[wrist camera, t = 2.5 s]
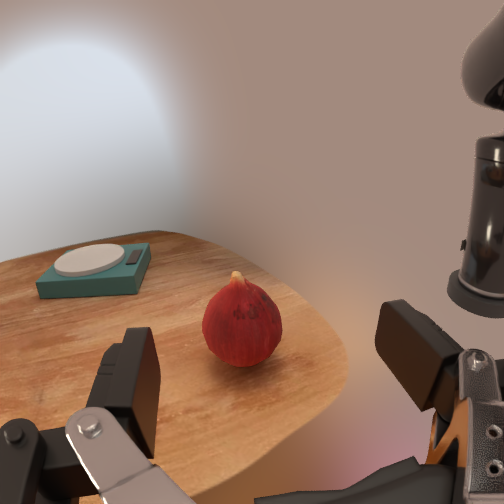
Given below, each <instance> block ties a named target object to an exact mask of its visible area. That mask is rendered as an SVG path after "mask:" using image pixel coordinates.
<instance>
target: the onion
mask: <svg viewBox="0 0 504 504" xmlns="http://www.w3.org/2000/svg"><path fill="white" fill-rule="evenodd" d="M202 332H203V334H204V337H205V340H206V342H207V345H208V347H209V349H210V350H211V351H212V352H213V353H214V354H215V355H216V356H217V357H218V358H220V359H221V360H222V361H224V362H226V363H228V364H231V365H233V366H237V367H247V366H252V365H256V364H258V363H259V362H261V361H263V360H265V359H266V358H268V357H270V355H271V354H272V352H273V351H274V350H275V348H276V347H277V345H278V344H279V342H280V340H281V335H282V322H281V316H280V312H279V310H278V308H277V306H276V304H275V303H274V302H273V301H272V299H271V298H270V297H269V296H268V295H267V293H266V292H265V291H264V290H263V289H261V288H260V287H258V286H256V285H254V284H252V283H250V282H249V281H247V280H246V279H245V278H244V277H243V276H242V274H241V273H240V272H237V271H233V272H232V278H231V279H230V284H229V285H227V286H225V287H224V288H222V289H221V290H220V291H219V292H218V293H217V294H216V295H215V296H214V297H213V298H212V299H211V300H210V302H209V304H208V305H207V308H206V311H205V314H204V318H203V321H202Z"/></svg>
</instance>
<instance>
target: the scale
mask: <svg viewBox="0 0 504 504" xmlns="http://www.w3.org/2000/svg"><path fill="white" fill-rule="evenodd" d="M150 259H151V253H150V246H149V243H141V244H130V245H114V244H98V245H91V246H86V247H82V248H79V249H75V250H67V251H66V252H65V253H64V254H63V255H62V256H61V257H60V258H58V259H57V260H56V262H55V263H54V264H53V265H52V266H51V267H50V268H49V269H48V270H47V271H46V272H45V273H44V274H43V275H42V276H41V277H40V278H39V279H38V280H37V281H36V286H37V289H38V293H39V296H40V299H44V298H68V297H89V296H108V295H125V294H137V293H138V290H139V288H140V285H141V282H142V280H143V277H144V274H145V272H146V269H147V267H148V264H149V261H150Z"/></svg>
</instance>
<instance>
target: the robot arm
mask: <svg viewBox="0 0 504 504" xmlns="http://www.w3.org/2000/svg"><path fill="white" fill-rule="evenodd" d="M460 74H461V83H462V86H463V89H464V91H465V93H466V95H467V96H468V98H469V99H470V100H471V101H473V102H474V103H475V104H477V105H479V106H481V107H484V108H487V109H492V110H496V111H500V112H504V3H503V5H502V6H501V8H500V9H499V11H498V12H497V13H496V15H495V16H494V17H493V19H492V20H491V21H490V22H489V23H488V24H487V25H486V26H485V27H484V28H483V29H482V30H481V32H479V33H478V35H476V37H475V38H474V39H473V40H472V41H471V42H470V44H469V45H468V47H467V48H466V50H465V53H464V56H463V59H462V63H461V72H460ZM475 157H476V158H475V161H474V178H473V190H472V199H471V208H470V216H469V223H468V230H467V236H466V239H465V240H464V241H462V245H461V250H463V249H464V253H463V258H462V263H461V268H460V271H459V274H458V282H459V283H460V285H461V286H462V287H463V288H465V289H466V290H468V291H469V292H471V293H473V294H475V295H477V296H480V297H483V298H487V299H492V300H504V129H503V130H501V131H499V132H497V133H494V134H489V135H484V136H480V137H478V138H477V139H476V143H475ZM375 346H376V350H377V353H378V354H379V356H380V357H381V358H382V360H383V361H384V362H385V363H386V365H387V366H388V368H389V369H390V370H391V371H392V373H393V374H394V375H395V377H396V378H397V380H398V381H399V382H400V384H401V385H402V386H403V388H404V389H405V390H406V392H407V393H408V394H409V396H410V397H411V398H412V400H413V401H414V402H415V404H416V405H417V407H418V408H419V409H420V411H421V412H423V411H425V410H428V409H430V408H433V407H434V408H435V409H436V411H435V413H434V415H433V421H432V430H431V437H430V444H429V450H428V456H427V460H426V463H425V464H421V465H419V463H418V462H417V460H416V458H415V457H414V456H412V457H410V458H408V459H405V460H402V461H399V462H397V463H394V464H392V465H389V466H386V467H383V468H380V469H379V470H377V471H376V472H374V473H372V474H371V475H369V476H367V477H366V478H364V479H363V480H361V481H359V482H357V483H356V484H354V485H352V486H350V487H349V488H346V489H343V490H327V491H296V492H290V493H285V494H280V495H273V496H267V497H260V498H254V504H504V359H500V360H494V359H493V357H491V355H489V354H488V353H486V352H484V351H482V350H478V349H467V350H464V349H463V348H462V347H461V346H460V345H459V344H458V343H457V342H455V341H454V340H453V339H452V338H451V337H450V336H449V335H448V334H447V333H446V332H445V331H442V329H441V328H440V327H439V326H438V325H436V324H435V322H434V321H433V320H432V319H430V318H429V317H428V316H427V315H425V314H423V313H421V312H419V311H417V310H415V309H414V308H413V307H411V306H410V305H409V304H408V303H407V302H406V301H405V300H402V299H400V300H394V301H388V302H384V303H383V304H382V306H381V309H380V315H379V321H378V326H377V330H376V335H375ZM100 365H101V366H99V369H98V372H97V375H96V377H95V380H94V383H93V386H92V389H91V392H90V395H89V398H88V401H87V404H86V407H85V408H83V409H81V410H79V411H77V412H75V413H74V414H73V415H72V416H71V417H70V418H69V419H68V421H67V423H66V426H65V427H61V428H55V429H49V430H42V431H39V430H38V429H37V427H36V426H35V424H34V423H33V422H31V421H30V420H27V419H23V418H18V419H13V420H11V421H9V422H7V423H5V424H4V425H3V426H2V427H1V428H0V504H79V497H83V496H90V495H96V494H99V496H100V498H101V499H102V501H103V503H104V504H196V503H195V502H194V501H193V500H192V499H191V498H190V497H189V496H188V495H187V494H186V493H185V492H184V491H183V490H182V489H181V488H180V487H179V486H178V485H177V484H176V483H175V482H174V481H173V480H172V479H171V478H170V477H169V476H168V475H167V474H166V473H165V472H164V471H163V470H162V469H161V468H160V467H159V466H158V465H157V464H154V465H153V464H152V463H151V462H150V461H149V460H148V459H154V449H155V435H156V423H157V412H158V402H159V392H160V383H161V373H160V365H159V361H158V357H157V353H156V348H155V344H154V339H153V335H152V331H151V328H150V327H140V328H127V330H126V333H125V336H124V339H123V342H122V343H114V344H113V345H112V346H111V347H110V348H109V349H108V350H107V351H106V352H105V353H104V355H103V358H102V361H101V363H100Z"/></svg>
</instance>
